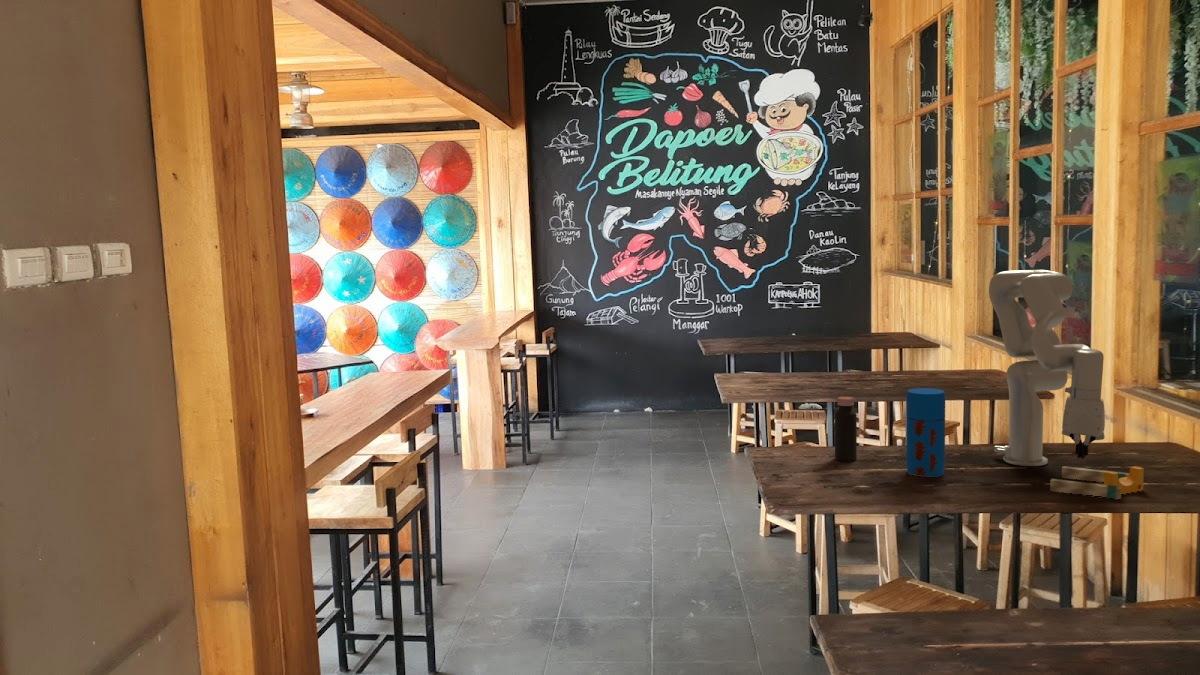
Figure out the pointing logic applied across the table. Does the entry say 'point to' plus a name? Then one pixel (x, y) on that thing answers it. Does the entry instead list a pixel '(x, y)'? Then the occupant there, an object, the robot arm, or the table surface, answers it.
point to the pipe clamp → (1126, 480)
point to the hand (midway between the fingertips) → (1081, 457)
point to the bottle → (845, 430)
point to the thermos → (926, 431)
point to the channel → (1083, 487)
